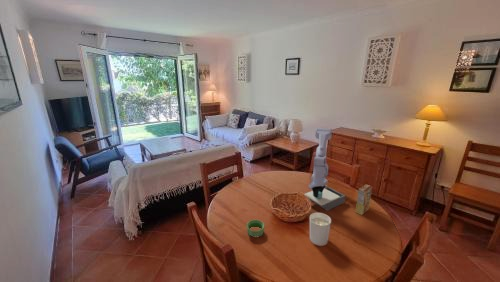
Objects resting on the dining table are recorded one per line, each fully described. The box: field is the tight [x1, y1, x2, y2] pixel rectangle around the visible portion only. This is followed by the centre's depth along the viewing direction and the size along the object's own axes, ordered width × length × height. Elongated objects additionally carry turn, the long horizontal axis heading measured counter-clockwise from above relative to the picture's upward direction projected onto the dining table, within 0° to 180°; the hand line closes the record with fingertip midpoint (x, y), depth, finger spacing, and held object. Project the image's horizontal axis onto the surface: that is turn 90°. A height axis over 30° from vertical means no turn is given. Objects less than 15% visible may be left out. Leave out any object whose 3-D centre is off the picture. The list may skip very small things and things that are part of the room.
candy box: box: [355, 183, 373, 216], centre depth 124 cm, size 9×4×15 cm, turn 129°
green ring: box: [246, 219, 265, 238], centre depth 110 cm, size 9×9×4 cm
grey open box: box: [309, 186, 346, 212], centre depth 136 cm, size 14×16×5 cm
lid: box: [303, 188, 340, 206], centre depth 132 cm, size 14×16×4 cm
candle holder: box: [309, 212, 332, 247], centre depth 103 cm, size 10×10×12 cm
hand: (317, 196), depth 130 cm, fingers closed on lid, 2 cm apart
